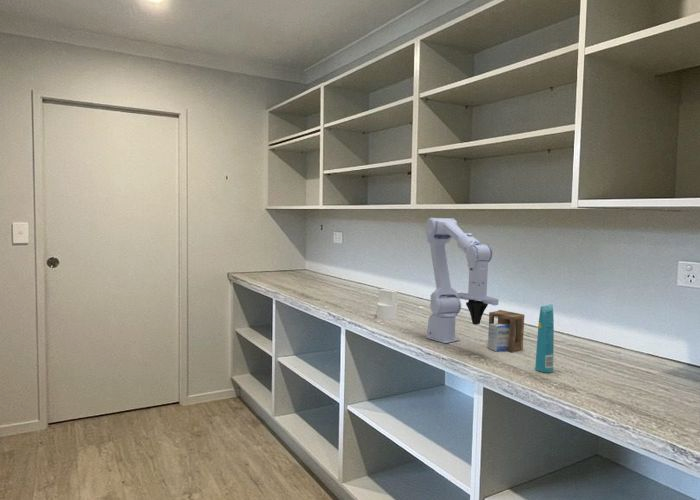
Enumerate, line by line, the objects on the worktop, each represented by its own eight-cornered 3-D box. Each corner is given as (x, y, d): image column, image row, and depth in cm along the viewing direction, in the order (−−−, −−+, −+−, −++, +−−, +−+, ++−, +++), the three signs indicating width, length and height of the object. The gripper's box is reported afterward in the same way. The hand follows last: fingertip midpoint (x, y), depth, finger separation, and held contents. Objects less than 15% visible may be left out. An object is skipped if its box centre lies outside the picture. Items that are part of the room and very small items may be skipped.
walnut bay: (487, 346, 168) (489, 311, 168) (498, 343, 172) (500, 309, 172) (511, 352, 161) (513, 316, 160) (522, 349, 165) (524, 314, 164)
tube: (540, 365, 147) (543, 302, 146) (556, 369, 144) (560, 304, 143) (530, 371, 141) (534, 305, 140) (547, 375, 138) (551, 308, 137)
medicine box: (496, 352, 162) (497, 326, 161) (487, 348, 166) (488, 323, 165) (515, 350, 164) (516, 324, 164) (506, 346, 169) (507, 321, 168)
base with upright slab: (401, 318, 212) (402, 290, 211) (386, 320, 206) (387, 292, 206) (387, 314, 219) (388, 288, 218) (372, 317, 213) (373, 289, 212)
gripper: (451, 280, 160) (450, 321, 161) (489, 286, 148) (487, 330, 149) (465, 278, 164) (463, 318, 165) (503, 284, 153) (501, 327, 154)
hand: (476, 324), depth 158 cm, fingers closed
